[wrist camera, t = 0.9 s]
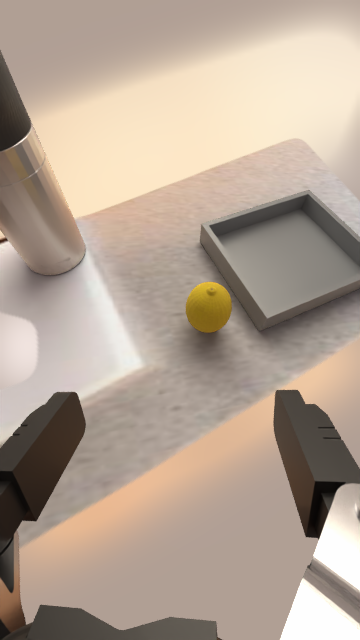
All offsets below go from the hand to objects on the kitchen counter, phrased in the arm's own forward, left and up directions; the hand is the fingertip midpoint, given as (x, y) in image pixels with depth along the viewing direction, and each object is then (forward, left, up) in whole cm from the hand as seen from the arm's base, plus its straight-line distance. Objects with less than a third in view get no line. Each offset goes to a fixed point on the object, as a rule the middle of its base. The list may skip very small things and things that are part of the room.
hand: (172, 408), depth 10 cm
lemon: (-12, +9, -20) cm, 25 cm away
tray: (-17, +25, -20) cm, 36 cm away
